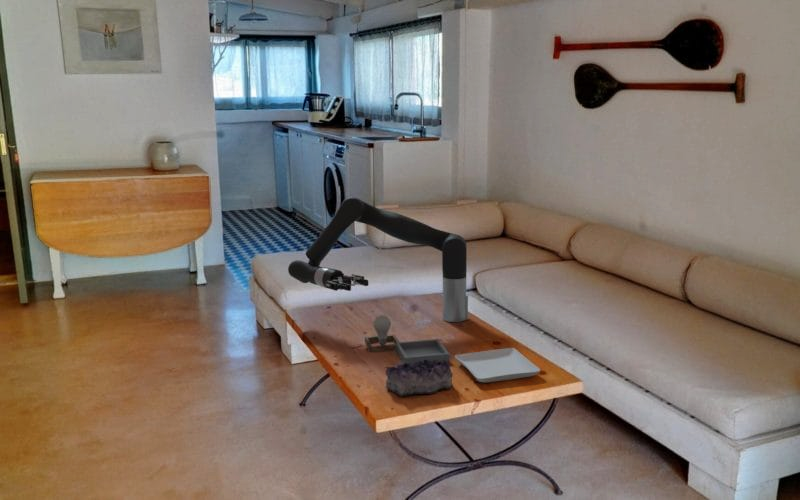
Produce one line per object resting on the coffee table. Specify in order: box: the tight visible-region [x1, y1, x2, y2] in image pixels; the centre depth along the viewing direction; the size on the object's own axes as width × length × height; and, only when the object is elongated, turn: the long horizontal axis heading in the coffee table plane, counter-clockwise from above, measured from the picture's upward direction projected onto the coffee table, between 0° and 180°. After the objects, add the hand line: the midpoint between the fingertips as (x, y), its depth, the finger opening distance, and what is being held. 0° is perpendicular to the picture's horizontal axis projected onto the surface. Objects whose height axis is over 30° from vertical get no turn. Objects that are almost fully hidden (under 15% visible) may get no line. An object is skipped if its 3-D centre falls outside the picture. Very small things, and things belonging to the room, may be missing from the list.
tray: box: [395, 338, 451, 365], centre depth 237 cm, size 15×15×3 cm
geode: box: [385, 360, 453, 397], centre depth 210 cm, size 20×12×10 cm, turn 108°
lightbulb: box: [372, 314, 392, 345], centre depth 247 cm, size 6×6×11 cm
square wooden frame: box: [364, 334, 400, 353], centre depth 248 cm, size 11×11×2 cm
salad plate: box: [454, 347, 541, 383], centre depth 223 cm, size 21×21×3 cm
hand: (359, 285), depth 252 cm, fingers open, 8 cm apart
